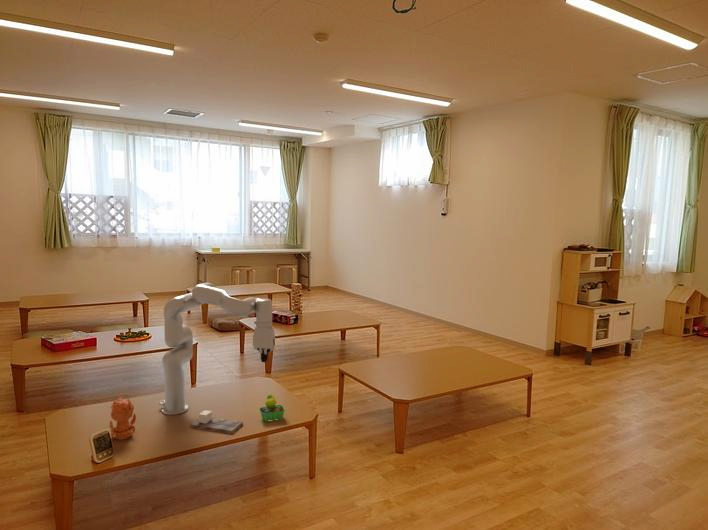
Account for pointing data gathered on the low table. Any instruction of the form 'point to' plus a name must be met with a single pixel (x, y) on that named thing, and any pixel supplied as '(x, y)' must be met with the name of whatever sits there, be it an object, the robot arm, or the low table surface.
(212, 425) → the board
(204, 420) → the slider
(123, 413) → the orange figurine
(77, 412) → the low table surface
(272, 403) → the fruit basket
